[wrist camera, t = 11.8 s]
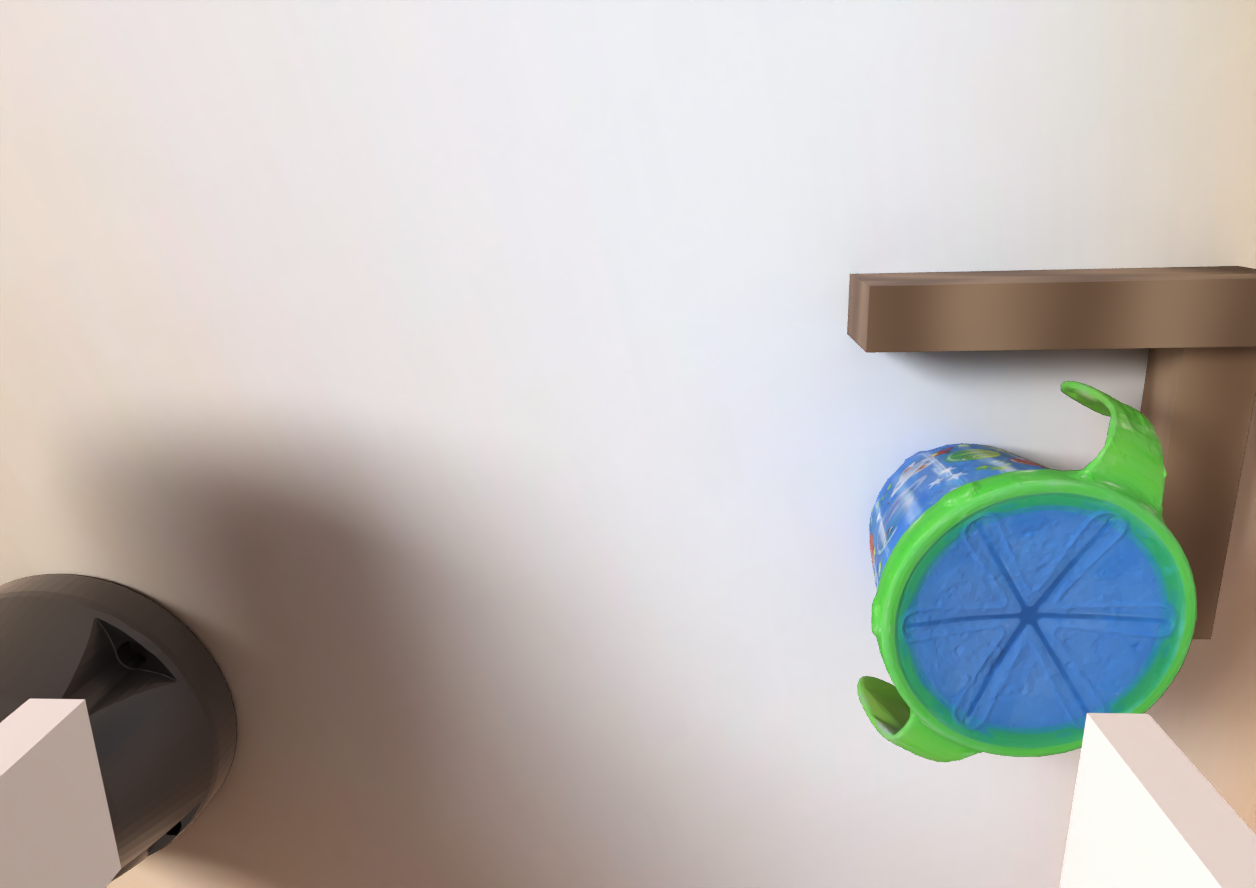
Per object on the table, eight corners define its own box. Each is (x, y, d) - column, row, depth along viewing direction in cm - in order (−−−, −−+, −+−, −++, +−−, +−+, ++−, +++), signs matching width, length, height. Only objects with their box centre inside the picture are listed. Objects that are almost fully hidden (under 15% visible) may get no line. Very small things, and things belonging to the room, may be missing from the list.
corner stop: (834, 611, 42) (850, 655, 38) (849, 273, 37) (869, 286, 33) (1179, 611, 41) (1231, 657, 37) (1238, 266, 36) (1303, 277, 33)
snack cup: (973, 306, 37) (1076, 354, 28) (1166, 443, 39) (1330, 535, 29) (752, 586, 42) (775, 712, 32) (932, 701, 43) (1007, 856, 33)
